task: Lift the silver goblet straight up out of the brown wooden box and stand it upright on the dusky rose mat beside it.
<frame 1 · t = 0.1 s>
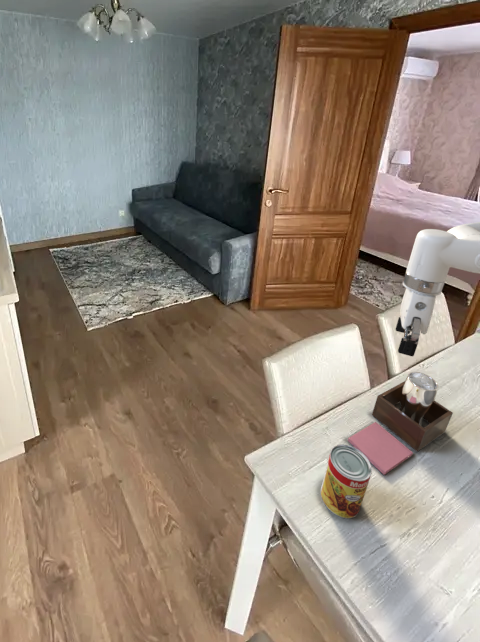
hand: (403, 342, 86), 25 cm above the table, tool pointing down, fingers open, 9 cm apart
canned food: (339, 499, 76), on the table
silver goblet: (407, 423, 94), resting in brown wooden box
mat: (379, 447, 87), on the table
brown wooden box: (407, 423, 94), on the table
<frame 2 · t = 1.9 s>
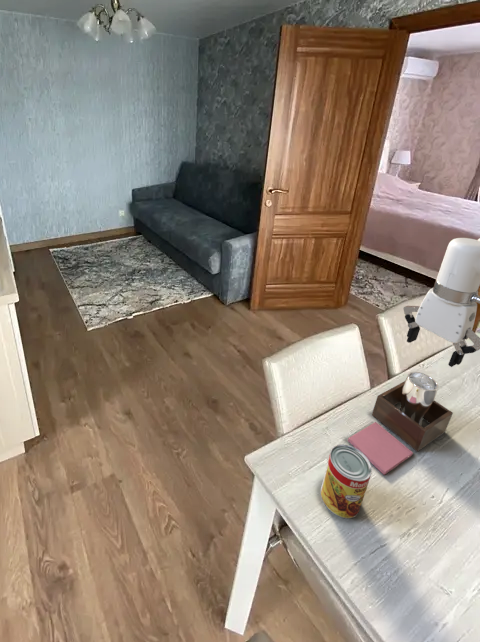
hand: (431, 352, 85), 24 cm above the table, tool pointing down, fingers open, 9 cm apart
nothing on the table moved.
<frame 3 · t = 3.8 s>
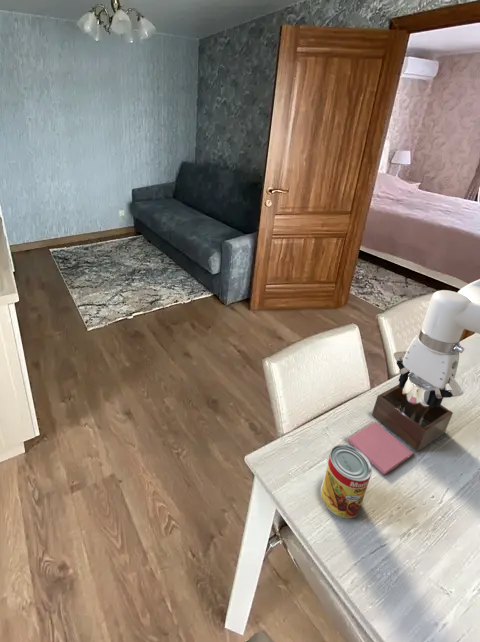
hand: (417, 394, 90), 10 cm above the table, tool pointing down, fingers closed on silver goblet, 7 cm apart
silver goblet: (407, 423, 94), resting in brown wooden box, touching gripper
everything else where it was.
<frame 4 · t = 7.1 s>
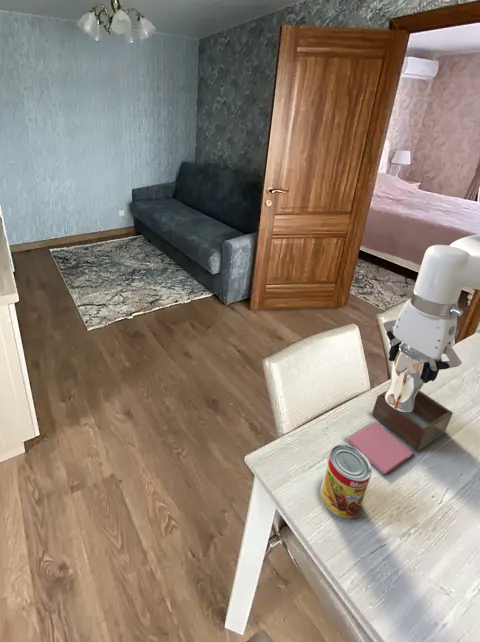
hand: (410, 368, 79), 24 cm above the table, tool pointing down, fingers closed on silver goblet, 7 cm apart
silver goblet: (398, 402, 83), point 14 cm above the table, touching gripper
everything else where it was.
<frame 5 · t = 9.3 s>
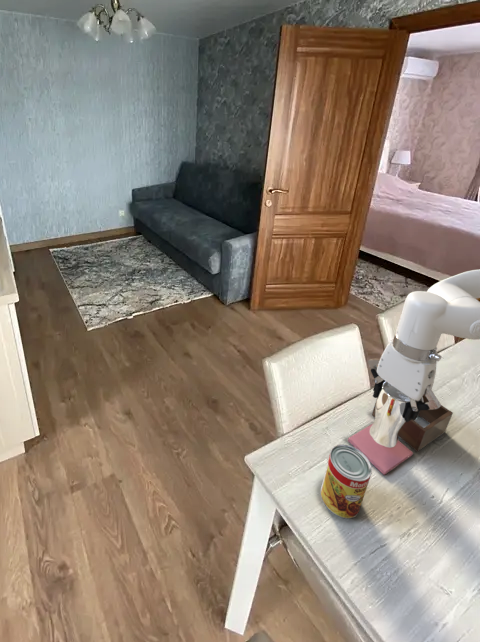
hand: (393, 406, 82), 14 cm above the table, tool pointing down, fingers closed on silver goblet, 7 cm apart
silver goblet: (382, 437, 86), point 4 cm above the table, touching gripper
everything else where it was.
when the fingers open (11 cm above the table, at t = 10.7 s): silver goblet stays where it is, resting on mat.
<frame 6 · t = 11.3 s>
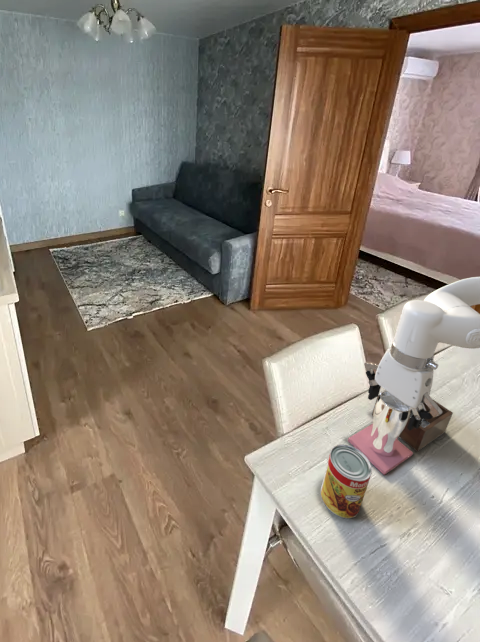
hand: (391, 411, 82), 12 cm above the table, tool pointing down, fingers open, 9 cm apart
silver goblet: (380, 445, 87), point 1 cm above the table, touching mat
everything else where it was.
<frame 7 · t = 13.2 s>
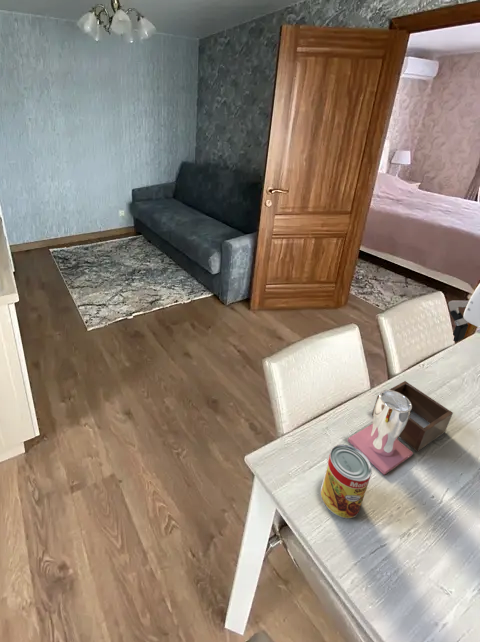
nothing on the table moved.
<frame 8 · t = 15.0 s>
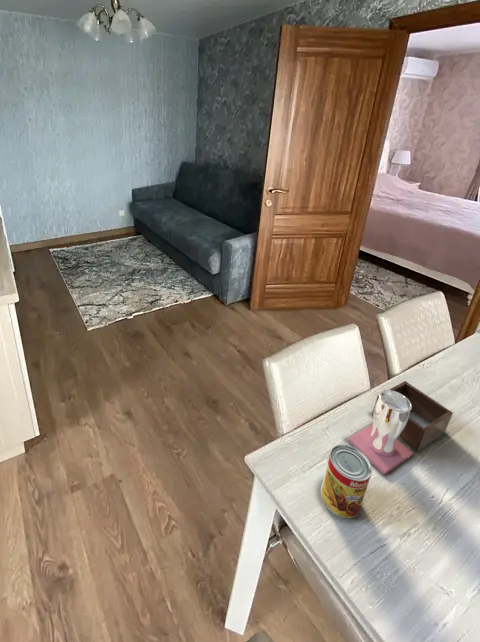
nothing on the table moved.
at the end: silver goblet inside the target area on the mat (0.1 cm from its centre), point 0.8 cm above the mat's base; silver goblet tilted 0°; the gripper is holding nothing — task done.
